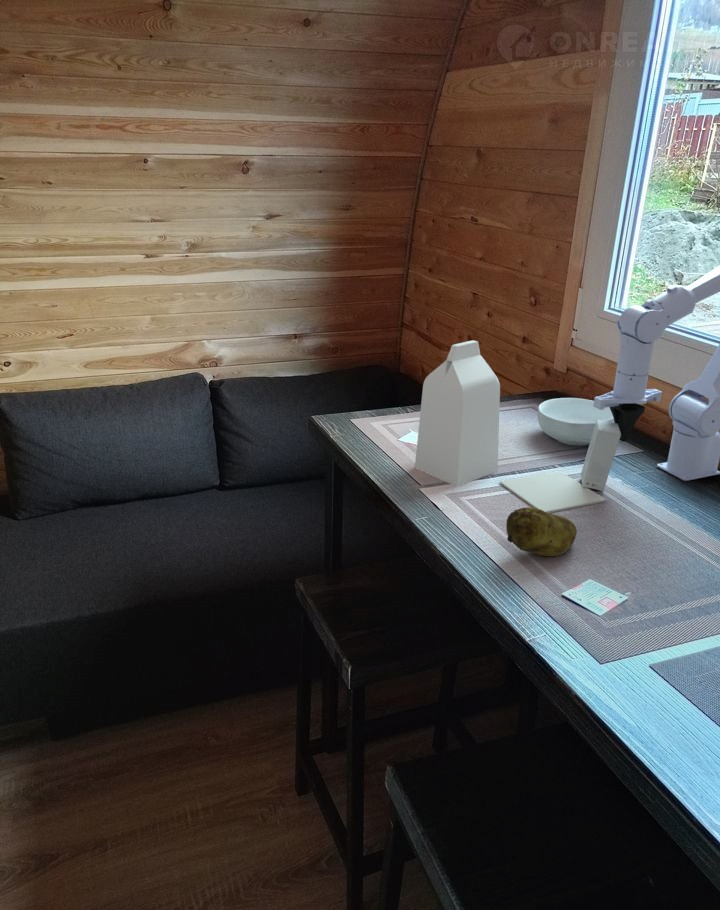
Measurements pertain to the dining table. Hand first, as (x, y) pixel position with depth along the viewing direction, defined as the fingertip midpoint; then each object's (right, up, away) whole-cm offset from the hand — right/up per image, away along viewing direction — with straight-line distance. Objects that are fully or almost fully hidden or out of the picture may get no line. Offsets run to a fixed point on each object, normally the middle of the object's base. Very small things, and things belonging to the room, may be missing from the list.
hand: (621, 439), depth 149 cm
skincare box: (-5, -9, +1) cm, 10 cm away
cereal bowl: (-3, 0, +23) cm, 24 cm away
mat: (-14, -10, -2) cm, 17 cm away
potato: (-21, -19, -23) cm, 37 cm away
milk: (-31, -6, +7) cm, 32 cm away
